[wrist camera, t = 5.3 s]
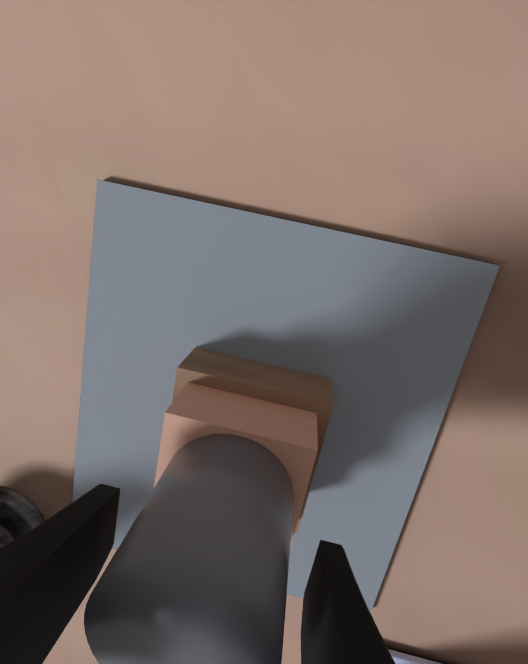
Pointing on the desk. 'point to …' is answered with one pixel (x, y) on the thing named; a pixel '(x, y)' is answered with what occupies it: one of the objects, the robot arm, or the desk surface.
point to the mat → (275, 353)
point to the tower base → (261, 387)
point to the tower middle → (243, 431)
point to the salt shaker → (16, 515)
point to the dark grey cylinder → (201, 563)
